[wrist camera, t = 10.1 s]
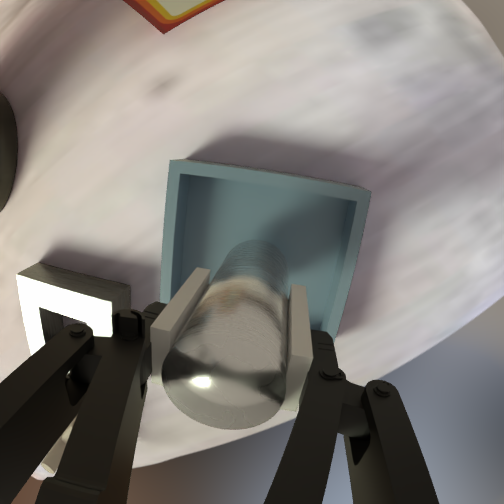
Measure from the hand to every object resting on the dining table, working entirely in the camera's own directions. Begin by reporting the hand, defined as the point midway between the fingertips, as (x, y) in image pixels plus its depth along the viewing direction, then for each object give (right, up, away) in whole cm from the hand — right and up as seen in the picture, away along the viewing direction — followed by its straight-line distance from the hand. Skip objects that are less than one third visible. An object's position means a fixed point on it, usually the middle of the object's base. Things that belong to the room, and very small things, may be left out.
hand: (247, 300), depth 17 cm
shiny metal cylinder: (+1, +1, +5) cm, 5 cm away
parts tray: (+1, +2, +7) cm, 8 cm away
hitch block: (-16, -5, +11) cm, 20 cm away
